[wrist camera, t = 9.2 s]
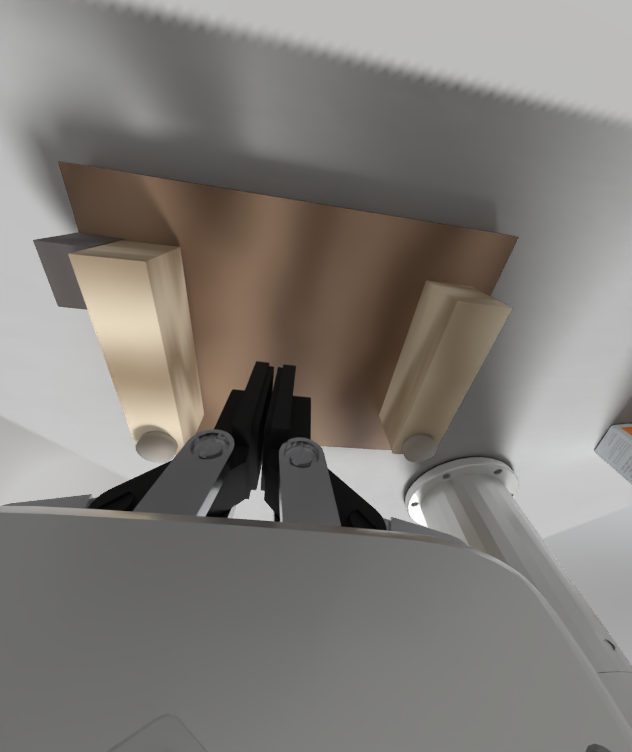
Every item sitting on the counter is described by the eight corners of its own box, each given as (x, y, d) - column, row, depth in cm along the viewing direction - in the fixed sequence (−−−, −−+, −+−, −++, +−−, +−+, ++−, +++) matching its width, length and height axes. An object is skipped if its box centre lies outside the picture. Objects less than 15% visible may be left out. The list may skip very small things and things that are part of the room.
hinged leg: (204, 415, 21) (183, 463, 18) (163, 413, 21) (133, 461, 17) (180, 246, 15) (138, 264, 11) (121, 240, 15) (57, 256, 11)
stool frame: (497, 233, 17) (589, 250, 12) (407, 435, 27) (434, 497, 22) (85, 165, 15) (-45, 147, 9) (149, 418, 24) (105, 484, 19)
